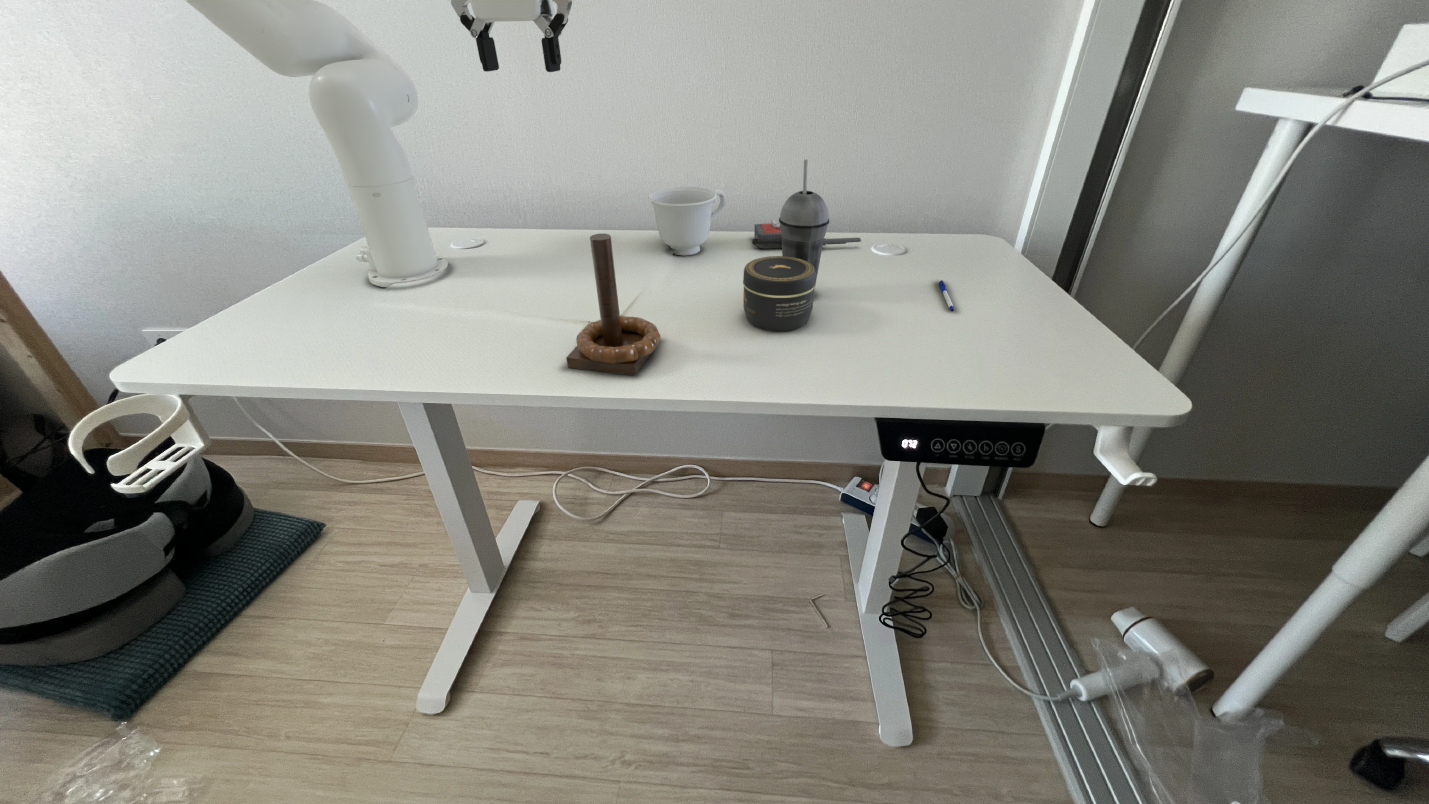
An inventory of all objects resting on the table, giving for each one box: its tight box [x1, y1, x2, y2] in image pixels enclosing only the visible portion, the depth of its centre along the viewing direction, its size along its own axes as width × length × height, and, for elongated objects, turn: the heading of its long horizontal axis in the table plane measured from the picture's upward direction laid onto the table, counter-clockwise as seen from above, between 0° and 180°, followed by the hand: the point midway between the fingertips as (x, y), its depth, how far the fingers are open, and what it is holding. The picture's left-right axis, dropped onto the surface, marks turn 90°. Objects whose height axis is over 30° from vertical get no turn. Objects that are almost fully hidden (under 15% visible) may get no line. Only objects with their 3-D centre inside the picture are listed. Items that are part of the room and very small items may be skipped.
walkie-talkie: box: [751, 219, 862, 250], centre depth 110 cm, size 9×4×20 cm
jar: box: [742, 255, 817, 332], centre depth 82 cm, size 10×10×8 cm
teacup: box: [648, 186, 727, 256], centre depth 107 cm, size 12×15×10 cm
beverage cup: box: [778, 159, 830, 286], centre depth 86 cm, size 7×7×20 cm
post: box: [566, 233, 651, 376], centre depth 72 cm, size 9×9×16 cm
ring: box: [575, 315, 662, 364], centre depth 74 cm, size 10×10×2 cm
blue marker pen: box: [938, 279, 955, 312], centre depth 90 cm, size 10×1×1 cm, turn 173°
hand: (522, 70), depth 83 cm, fingers open, 9 cm apart
